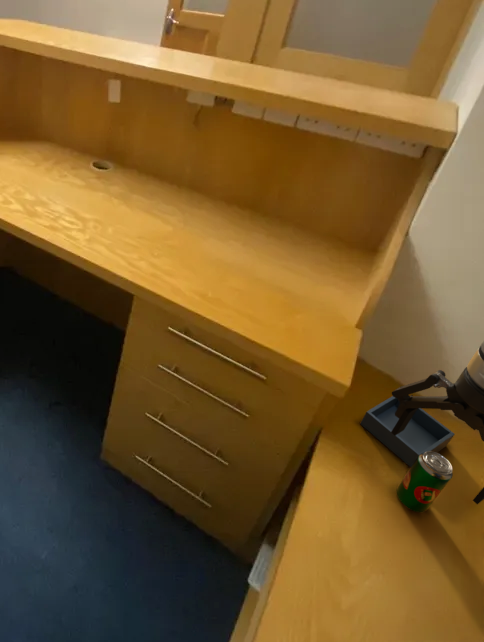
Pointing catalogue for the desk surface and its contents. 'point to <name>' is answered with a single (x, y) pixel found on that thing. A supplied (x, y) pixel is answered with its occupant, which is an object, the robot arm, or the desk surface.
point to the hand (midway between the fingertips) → (435, 463)
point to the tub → (406, 431)
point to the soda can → (424, 481)
